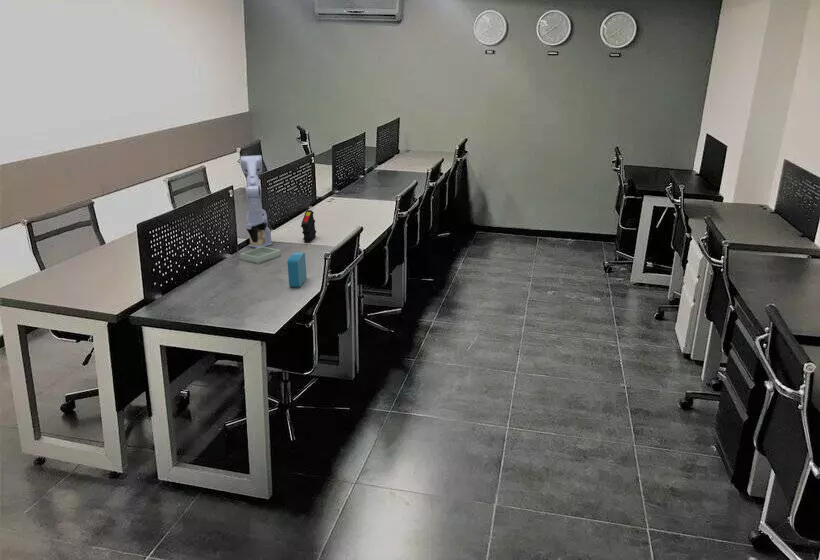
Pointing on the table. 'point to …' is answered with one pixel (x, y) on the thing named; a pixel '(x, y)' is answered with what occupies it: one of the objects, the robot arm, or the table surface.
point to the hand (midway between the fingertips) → (258, 240)
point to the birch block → (260, 238)
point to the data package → (296, 269)
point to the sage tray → (260, 255)
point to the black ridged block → (308, 226)
